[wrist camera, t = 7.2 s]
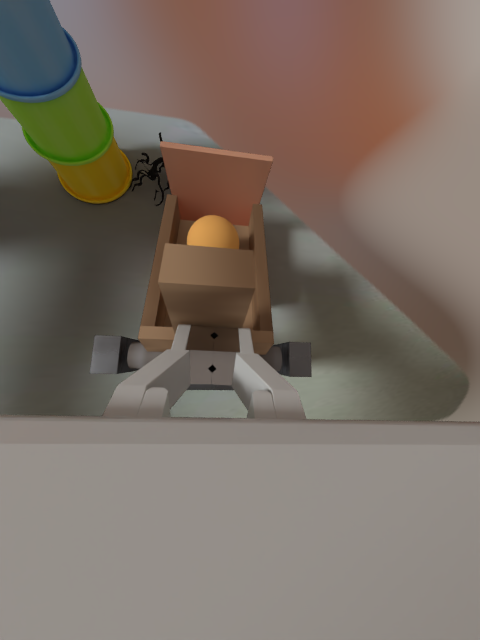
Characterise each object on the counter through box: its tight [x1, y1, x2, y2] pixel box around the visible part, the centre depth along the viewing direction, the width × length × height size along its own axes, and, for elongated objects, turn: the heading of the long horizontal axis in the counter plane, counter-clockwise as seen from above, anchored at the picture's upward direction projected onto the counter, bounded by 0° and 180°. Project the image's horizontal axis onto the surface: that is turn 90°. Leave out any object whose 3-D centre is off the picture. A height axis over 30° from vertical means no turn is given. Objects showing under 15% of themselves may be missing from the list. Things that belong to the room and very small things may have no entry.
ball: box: [187, 215, 239, 249], centre depth 17 cm, size 4×4×4 cm
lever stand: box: [90, 335, 311, 390], centre depth 24 cm, size 15×8×17 cm, turn 89°
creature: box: [130, 132, 170, 206], centre depth 33 cm, size 8×5×8 cm
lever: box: [127, 194, 282, 371], centre depth 15 cm, size 10×14×11 cm
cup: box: [160, 141, 273, 226], centre depth 28 cm, size 11×13×13 cm
